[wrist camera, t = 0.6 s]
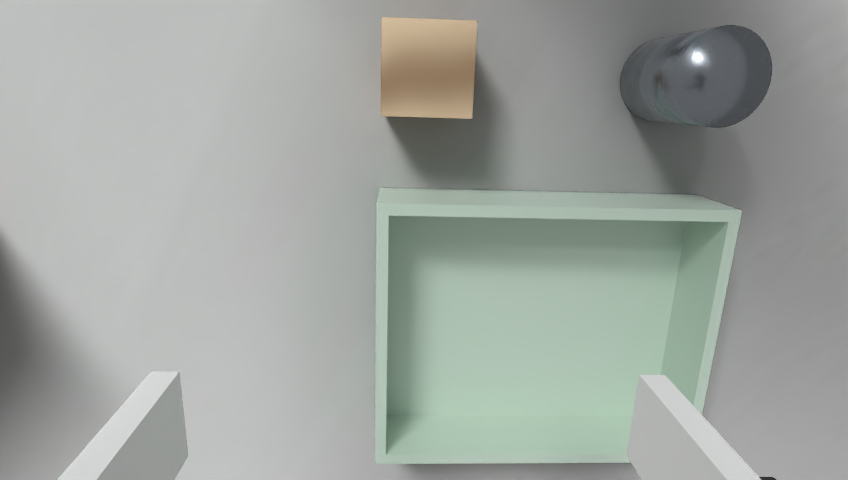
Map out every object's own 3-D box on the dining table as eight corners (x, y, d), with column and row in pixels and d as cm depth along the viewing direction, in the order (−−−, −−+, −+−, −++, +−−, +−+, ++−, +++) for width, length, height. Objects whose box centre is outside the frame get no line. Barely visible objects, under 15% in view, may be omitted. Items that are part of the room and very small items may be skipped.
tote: (379, 187, 35) (376, 203, 30) (695, 194, 36) (742, 210, 31) (377, 418, 39) (374, 464, 35) (657, 418, 40) (692, 462, 36)
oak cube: (384, 28, 32) (381, 16, 27) (465, 31, 32) (477, 20, 28) (383, 112, 33) (380, 116, 29) (461, 114, 34) (472, 118, 29)
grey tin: (625, 37, 33) (684, 23, 26) (703, 40, 33) (781, 27, 26) (615, 119, 34) (668, 126, 27) (690, 121, 34) (760, 129, 28)
